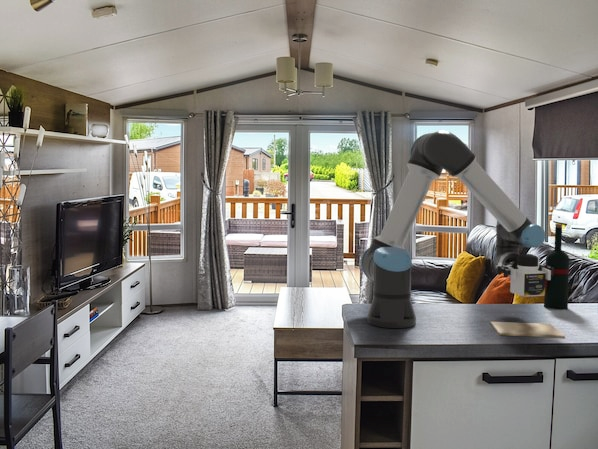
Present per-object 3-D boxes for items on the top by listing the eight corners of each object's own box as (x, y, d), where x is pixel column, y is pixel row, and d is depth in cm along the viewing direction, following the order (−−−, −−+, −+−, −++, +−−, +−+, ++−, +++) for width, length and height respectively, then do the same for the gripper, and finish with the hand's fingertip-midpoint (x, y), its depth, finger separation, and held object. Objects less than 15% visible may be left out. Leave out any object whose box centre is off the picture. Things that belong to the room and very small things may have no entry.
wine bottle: (533, 305, 205) (536, 223, 203) (557, 304, 208) (560, 223, 206) (548, 310, 198) (551, 225, 196) (572, 309, 200) (576, 224, 198)
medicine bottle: (524, 296, 166) (525, 256, 165) (509, 292, 173) (510, 253, 172) (545, 295, 167) (546, 255, 166) (530, 291, 174) (531, 252, 173)
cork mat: (499, 335, 165) (499, 333, 165) (490, 323, 179) (490, 321, 179) (564, 337, 163) (564, 335, 162) (550, 325, 176) (550, 323, 176)
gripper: (547, 276, 186) (570, 288, 164) (479, 274, 189) (492, 286, 167) (548, 253, 185) (571, 263, 163) (479, 252, 188) (493, 261, 166)
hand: (531, 275), depth 165 cm, fingers closed on medicine bottle, 9 cm apart
